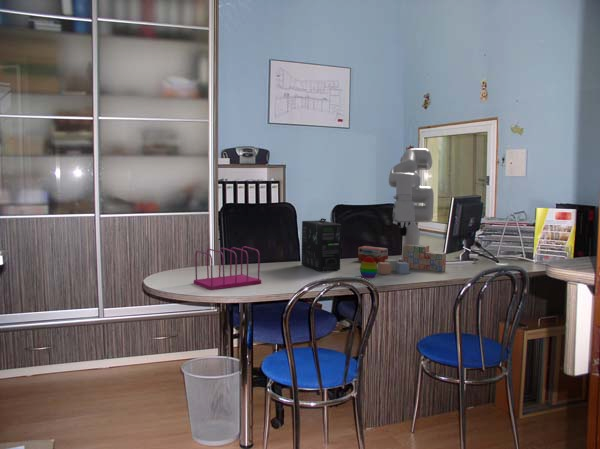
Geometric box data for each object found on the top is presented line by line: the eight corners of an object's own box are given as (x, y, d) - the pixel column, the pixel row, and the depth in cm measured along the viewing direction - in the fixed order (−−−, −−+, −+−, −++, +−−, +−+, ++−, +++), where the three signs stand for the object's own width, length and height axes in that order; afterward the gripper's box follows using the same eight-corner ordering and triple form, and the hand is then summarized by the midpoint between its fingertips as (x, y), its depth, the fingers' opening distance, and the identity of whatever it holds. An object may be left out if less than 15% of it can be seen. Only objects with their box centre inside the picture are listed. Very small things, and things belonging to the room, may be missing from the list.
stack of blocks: (445, 270, 277) (446, 246, 276) (441, 272, 272) (442, 248, 271) (406, 266, 289) (407, 243, 288) (402, 268, 284) (402, 244, 283)
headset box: (341, 270, 276) (341, 219, 274) (320, 272, 271) (320, 220, 268) (320, 263, 296) (320, 216, 294) (300, 265, 291) (300, 217, 288)
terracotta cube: (377, 272, 268) (377, 262, 268) (387, 271, 269) (387, 262, 269) (381, 274, 263) (381, 264, 263) (391, 273, 264) (391, 263, 264)
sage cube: (384, 269, 277) (384, 259, 277) (393, 268, 279) (393, 259, 278) (388, 270, 273) (388, 261, 272) (397, 270, 274) (397, 260, 273)
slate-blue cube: (395, 272, 269) (395, 262, 269) (404, 271, 270) (404, 261, 270) (399, 273, 264) (399, 263, 264) (409, 273, 266) (409, 263, 265)
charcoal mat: (367, 270, 277) (367, 269, 277) (397, 268, 281) (397, 268, 281) (378, 275, 261) (378, 274, 261) (411, 274, 265) (411, 273, 265)
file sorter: (261, 283, 241) (261, 249, 239) (210, 290, 226) (210, 253, 225) (242, 277, 255) (242, 244, 253) (193, 283, 240) (192, 248, 239)
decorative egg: (358, 278, 254) (358, 257, 253) (361, 275, 262) (361, 255, 261) (376, 279, 252) (376, 258, 251) (378, 276, 260) (378, 255, 259)
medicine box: (388, 262, 304) (388, 248, 303) (380, 264, 298) (380, 249, 297) (365, 259, 313) (365, 245, 313) (357, 261, 307) (357, 247, 306)
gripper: (392, 198, 259) (392, 236, 260) (421, 198, 262) (420, 236, 264) (386, 198, 266) (385, 235, 268) (414, 197, 270) (413, 234, 271)
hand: (403, 235), depth 266 cm, fingers closed
